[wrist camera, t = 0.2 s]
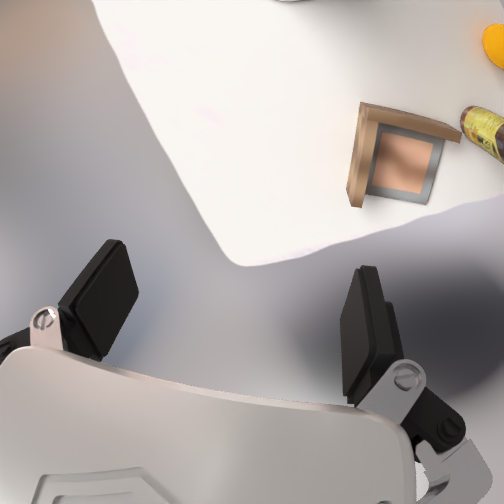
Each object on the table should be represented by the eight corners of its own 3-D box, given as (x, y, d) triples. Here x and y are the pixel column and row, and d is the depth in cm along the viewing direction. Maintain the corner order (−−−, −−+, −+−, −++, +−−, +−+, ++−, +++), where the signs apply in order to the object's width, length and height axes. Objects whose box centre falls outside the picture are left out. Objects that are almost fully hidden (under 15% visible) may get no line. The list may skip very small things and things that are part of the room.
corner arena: (360, 102, 38) (368, 108, 33) (445, 123, 36) (461, 133, 32) (346, 189, 47) (351, 206, 42) (424, 202, 45) (436, 220, 40)
